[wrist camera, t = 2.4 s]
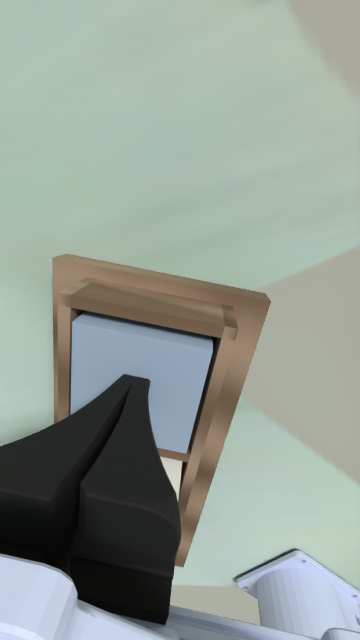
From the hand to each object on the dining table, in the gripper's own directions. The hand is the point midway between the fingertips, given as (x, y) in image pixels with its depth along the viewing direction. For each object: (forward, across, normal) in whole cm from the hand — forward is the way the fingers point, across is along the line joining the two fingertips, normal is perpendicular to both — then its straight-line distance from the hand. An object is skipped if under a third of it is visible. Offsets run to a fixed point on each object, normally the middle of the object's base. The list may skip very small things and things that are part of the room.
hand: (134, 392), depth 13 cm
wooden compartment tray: (+5, 0, +8) cm, 9 cm away
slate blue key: (+3, 0, 0) cm, 3 cm away
